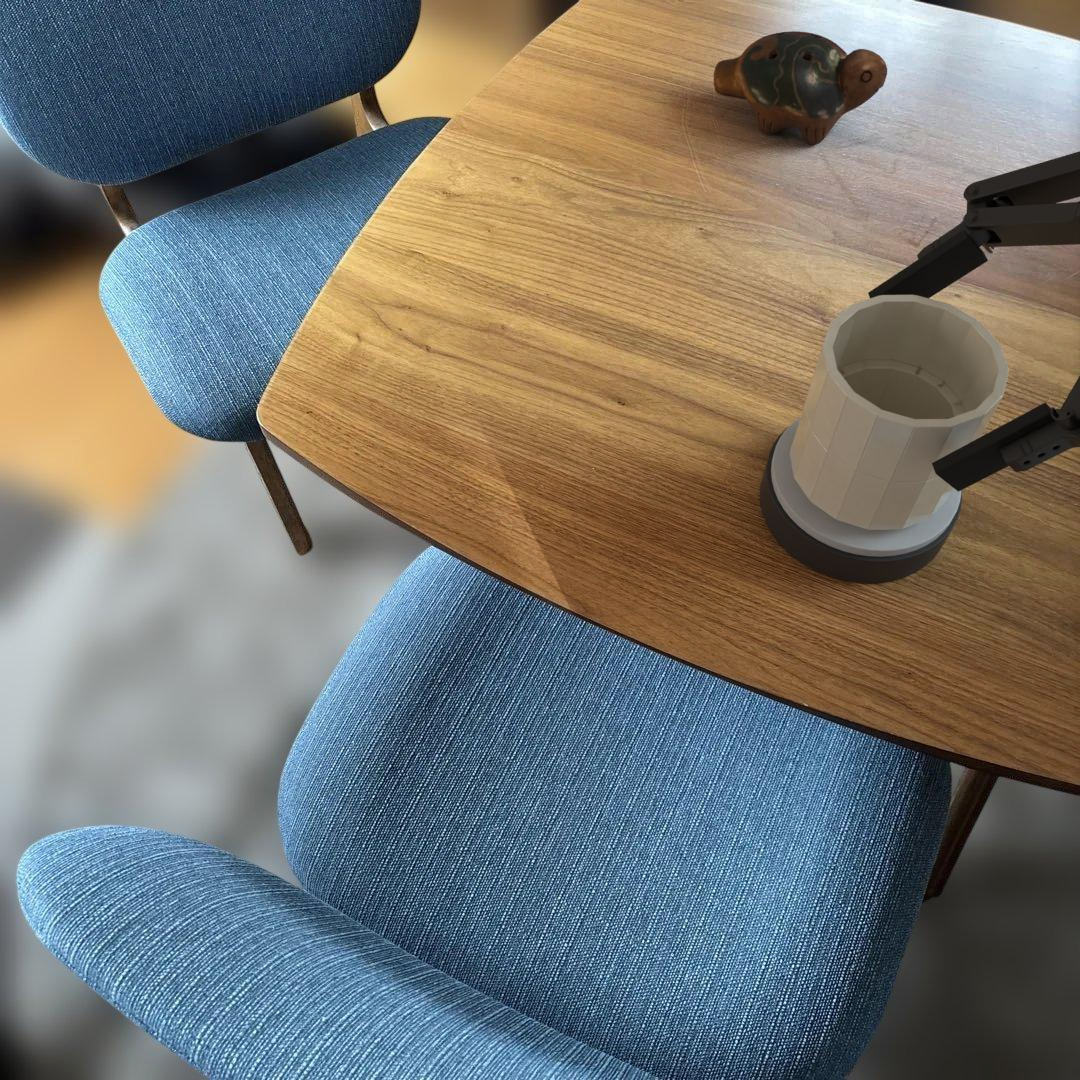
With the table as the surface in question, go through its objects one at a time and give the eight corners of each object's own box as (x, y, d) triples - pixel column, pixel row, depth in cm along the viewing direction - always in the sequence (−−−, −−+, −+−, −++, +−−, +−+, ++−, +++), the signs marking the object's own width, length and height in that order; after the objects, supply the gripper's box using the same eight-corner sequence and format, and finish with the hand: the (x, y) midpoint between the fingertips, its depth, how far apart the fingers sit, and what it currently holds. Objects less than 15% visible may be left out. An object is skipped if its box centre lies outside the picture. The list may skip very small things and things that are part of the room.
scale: (987, 545, 70) (1007, 514, 67) (821, 610, 67) (833, 581, 64) (881, 410, 77) (894, 377, 74) (726, 465, 74) (733, 432, 71)
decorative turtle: (868, 164, 92) (886, 84, 86) (701, 147, 96) (704, 69, 89) (880, 97, 97) (898, 16, 90) (720, 82, 100) (725, 3, 94)
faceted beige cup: (979, 505, 67) (1046, 393, 58) (841, 558, 65) (888, 450, 56) (890, 395, 73) (938, 275, 63) (760, 440, 71) (791, 323, 61)
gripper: (1468, 380, 45) (1007, 584, 57) (1214, 56, 59) (885, 275, 71) (1438, 298, 41) (944, 538, 52) (1170, -33, 54) (827, 217, 66)
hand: (909, 387), depth 62 cm, fingers open, 13 cm apart
